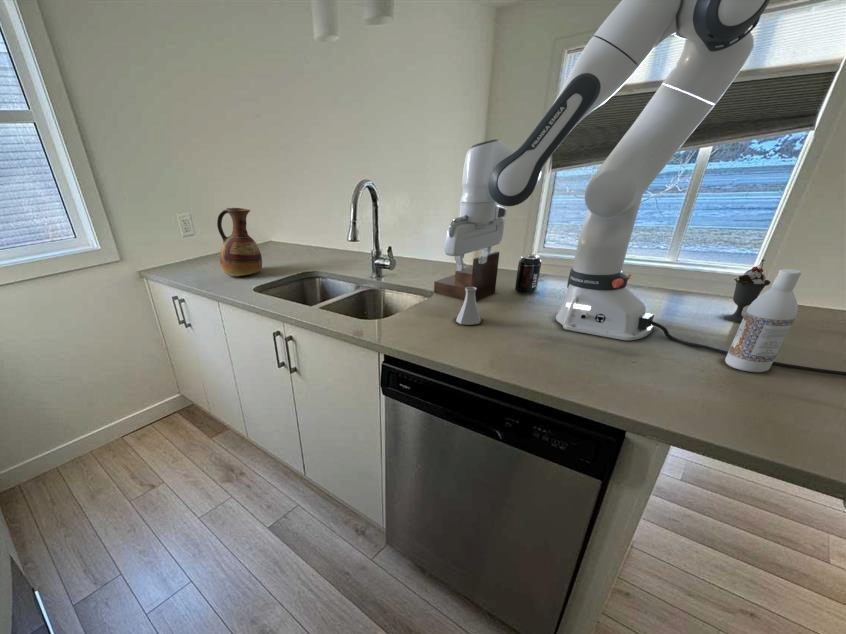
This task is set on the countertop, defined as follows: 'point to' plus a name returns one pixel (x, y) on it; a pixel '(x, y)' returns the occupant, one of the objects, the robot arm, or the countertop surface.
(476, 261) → the spice rack
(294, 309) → the countertop surface
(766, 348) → the bath foam
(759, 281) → the sundae
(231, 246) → the ceramic pitcher
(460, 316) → the flask
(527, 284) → the beverage can
